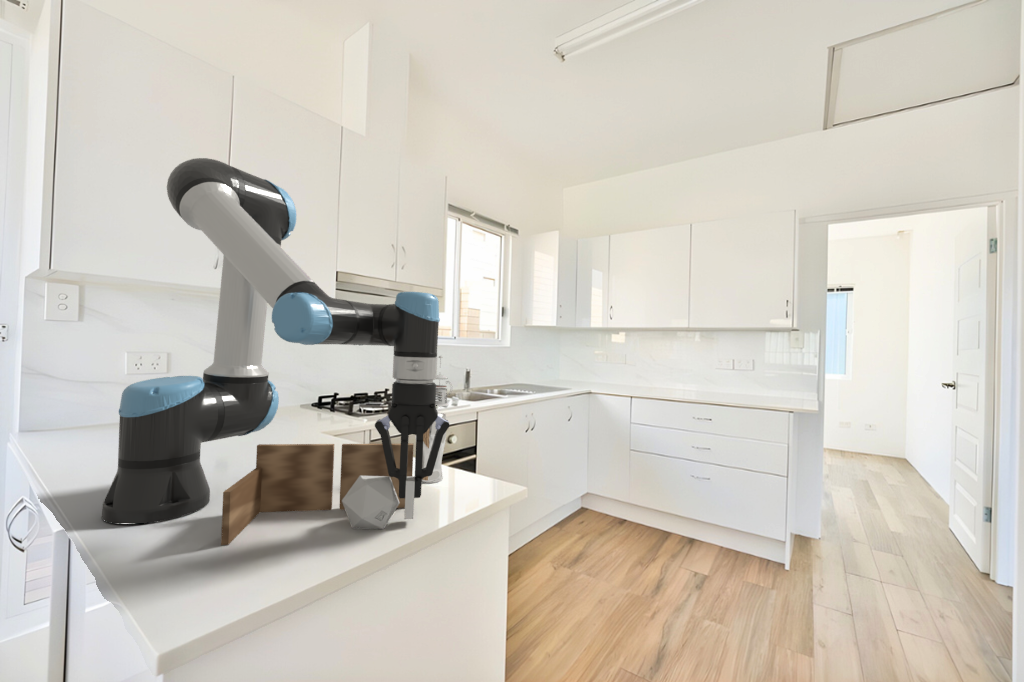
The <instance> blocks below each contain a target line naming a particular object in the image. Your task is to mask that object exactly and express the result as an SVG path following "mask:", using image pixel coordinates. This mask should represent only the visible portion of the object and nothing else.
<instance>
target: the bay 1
mask: <svg viewBox="0 0 1024 682" xmlns="http://www.w3.org/2000/svg"><path fill="white" fill-rule="evenodd" d="M255 461H256V462H255V468H253V469H252V470H251V471H250V472H247V474H246V475H244V476H243V477H242V478H241V479H239V480H237V481H236V482H235V483H233V484H232V485H230V487H228V488H227V489H225V490H224V491H223V492H222V508H221V509H222V511H221V512H222V515H221V534H220V535H221V537H220V538H221V539H220V546H229V545H230V544H231V543H232V542H233V541H234V540H235V539H236V538H237V537H238V536H239V535H240V534H241V532H243V530H245V529H246V528H247V526H248V525H250V524H251V523H252V521H254V519H255V518H256V517H257V516H258V515H259V514H261V513H279V512H280V513H281V512H287V513H288V512H309V511H310V512H311V511H315V512H318V511H331V510H332V508H333V491H334V490H333V489H334V488H333V487H334V486H333V485H334V465H335V464H334V463H335V443H297V444H296V443H280V444H279V443H277V444H273V443H269V444H268V443H267V444H266V443H262V444H260V443H259V444H257V445H256V460H255Z"/></svg>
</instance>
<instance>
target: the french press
mask: <svg viewBox="0 0 1024 682" xmlns="http://www.w3.org/2000/svg"><path fill="white" fill-rule="evenodd" d="M438 358H439V359H440V360H439V364H440V365H439V367H441V364H442V359H443V356H442V355H439V356H438ZM435 380H446V381H445V384H444V385H443V384H441V383H440V382H441V381H439V384H436V402H435V405H437V406H436V407H447V406H449V404H448V396H449V395H451V394H452V392H453V390H452V389H450V391H449V392H448V388H447V384H449V387H450V388H452V386H453V384H452V383H451V382H450V381H449V380H448V377H447V376H446V375H444V374H441V373H438V374H437V378H436V379H435Z"/></svg>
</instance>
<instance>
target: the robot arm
mask: <svg viewBox="0 0 1024 682" xmlns="http://www.w3.org/2000/svg"><path fill="white" fill-rule="evenodd" d="M166 192H167V193H166V194H167V198H168V200H169V203H170V204H171V206H172V208H173V209H174V211H175V212H176V213H177V214H178V216H179V217H180V219H181V218H182V220H183V222H185V223H186V224H187V226H189V227H191V228H193V229H195V230H197V231H201V232H202V233H203V234H204V235H205V237H207V238H208V240H210V242H212V244H213V245H214V246H215V247H216V248H217V249H218V250H219V251H220V252H221V254H222V255H223V259H222V267H221V268H222V269H221V279H220V288H219V290H220V291H219V300H218V310H217V311H218V312H217V319H216V320H217V322H216V332H215V345H214V354H213V363H212V364H211V365H210V366H207V368H205V369H204V370H203V375H202V377H201V376H197V375H178V376H175V375H174V376H165V377H156V378H150V379H146V380H141V381H136V382H134V383H132V384H130V385H128V386H126V387H125V388H124V389H123V390H122V394H121V397H120V398H121V399H120V404H119V405H120V406H119V409H118V415H119V426H118V427H119V430H118V453H117V459H118V460H117V470H116V474H115V476H114V478H113V480H112V482H111V485H110V486H109V489H108V492H107V493H106V496H105V498H104V499H103V502H102V506H101V507H102V508H101V519H102V520H103V521H104V520H105V521H107V522H106V523H108V522H112V523H144V524H148V523H147V522H152V523H157V521H158V522H163V521H164V522H165V521H169V520H172V519H177V518H180V517H185V516H187V515H190V514H192V513H195V512H197V511H199V510H202V509H203V508H204V507H206V506H208V505H209V503H210V498H211V497H210V496H211V490H210V489H211V488H210V486H209V482H208V479H207V477H206V475H205V471H204V469H203V465H202V464H201V447H202V445H201V444H202V443H207V442H212V441H218V440H222V439H228V438H232V437H243V436H247V435H249V434H251V433H255V432H259V431H262V430H263V429H265V428H267V426H268V425H269V424H271V422H272V421H273V419H274V418H275V416H276V414H277V411H278V407H279V393H278V391H277V390H276V385H275V384H274V383H273V382H272V381H270V380H269V374H270V373H269V372H268V371H267V370H266V369H265V367H263V363H262V362H263V353H264V352H263V351H264V342H265V341H264V340H265V330H266V320H267V309H268V305H269V306H270V307H271V308H272V311H271V322H272V324H273V325H274V331H275V334H276V335H277V336H279V338H280V339H281V340H284V341H286V342H288V343H292V344H293V343H294V344H301V345H305V346H307V345H308V346H309V345H310V346H313V345H314V346H315V345H347V346H349V345H350V346H384V347H385V346H388V347H393V361H392V362H393V363H392V378H393V379H394V380H395V381H394V382H393V383H391V384H392V385H391V386H392V387H391V404H390V409H389V411H388V412H387V415H386V416H384V417H383V418H379V419H377V420H376V421H375V423H374V428H375V430H376V431H377V432H378V434H379V436H380V441H381V444H382V445H383V450H384V455H385V459H386V464H387V469H388V474H389V476H390V477H395V478H397V479H398V480H399V498H405V508H404V518H403V519H404V520H413V519H414V515H415V513H414V511H415V499H419V498H421V496H422V479H423V478H424V477H427V476H431V475H432V473H433V470H434V466H435V462H436V459H437V455H438V452H439V448H440V445H441V441H442V438H443V435H444V434H445V432H446V433H447V430H449V428H450V421H449V420H448V419H446V420H444V419H443V418H441V417H440V416H438V413H439V412H438V410H437V406H435V402H436V401H437V400H436V398H437V397H436V396H437V395H436V393H437V392H436V388H437V387H436V385H437V384H436V382H434V381H435V380H437V379H436V378H437V375H438V373H437V372H438V371H437V370H438V344H439V343H438V341H439V339H438V338H439V326H440V325H439V323H440V320H441V319H440V306H439V302H440V301H439V299H438V297H437V295H435V294H433V293H428V292H423V291H422V292H421V291H420V292H419V291H402V292H401V291H400V292H398V293H397V294H396V297H395V301H394V303H391V304H384V303H383V304H380V303H365V302H359V301H353V300H347V299H343V298H342V299H341V298H334V297H331V296H329V295H328V294H327V292H325V291H324V290H323V289H322V288H321V287H320V286H319V285H318V284H317V283H316V282H315V281H314V280H313V279H312V278H311V277H310V276H309V275H308V274H307V273H306V272H305V271H304V270H303V268H301V267H300V266H299V264H298V263H296V262H295V260H294V259H293V258H291V256H289V254H288V253H287V252H286V251H285V250H284V249H283V248H282V241H284V240H286V239H288V238H289V237H290V236H291V232H294V229H295V227H296V224H297V209H296V206H295V205H296V204H295V203H294V201H293V198H292V197H291V195H289V193H288V192H287V191H286V190H285V189H284V188H282V187H280V186H279V185H277V184H274V183H273V182H271V181H270V180H267V179H266V178H265V179H264V178H260V177H259V176H256V175H253V174H252V173H249V172H246V171H244V170H241V169H239V168H237V167H234V166H232V165H230V164H228V163H226V162H223V161H220V160H217V159H214V158H213V159H212V158H208V157H198V158H191V159H188V160H185V161H183V162H181V163H179V164H178V165H177V166H176V167H174V168H173V170H172V171H171V172H170V174H169V176H168V179H167V183H166ZM434 421H435V422H436V425H435V428H436V429H437V431H436V434H435V437H434V440H433V444H432V447H431V451H430V454H429V458H428V461H427V465H426V467H425V468H423V469H422V458H423V434H424V433H426V432H427V430H428V429H429V428H430V426H431V425H432V424H433V423H434ZM390 422H391V423H392V425H393V426H394V428H395V429H396V431H397V432H398V433H399V434H400V444H401V448H400V469H398V468H396V463H395V458H394V453H393V449H392V444H393V443H392V439H391V435H390V431H389V429H390V427H391V423H390ZM410 435H415V462H414V463H415V464H414V476H413V475H412V476H410V477H407V462H408V443H409V439H410V437H409V436H410ZM105 521H104V522H105ZM112 523H111V524H112Z"/></svg>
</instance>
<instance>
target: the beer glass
mask: <svg viewBox="0 0 1024 682" xmlns="http://www.w3.org/2000/svg"><path fill="white" fill-rule="evenodd" d="M438 416H440V417H441V418H443V419H444V420H447V414H446V413H445V412H444V413H443V412H438ZM435 425H436V422H435V421H434V423H433V424H432V425H431V426H430V428H429V429H428V430H427V432H426V433H424V434H423V458H422V469H423V468H425V467H426V465H427V461H428V458H429V454H430V451H431V447H432V444H433V440H434V437H435V434H436V431H437V429H436V428H435ZM446 438H447V431H446V432H445V434H444V435H443V438H442V441H441V445H440V448H439V452H438V455H437V459H436V462H435V466H434V470H433V473H432V475H431V476H427V477H424V478H423V479H422V483H423V484H436V483H439V482H441V481H442V480H443V478H444V476H443V469H442V462H443V461H442V460H443V455H444V452H445V451H444V449H445V446H446Z"/></svg>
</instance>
